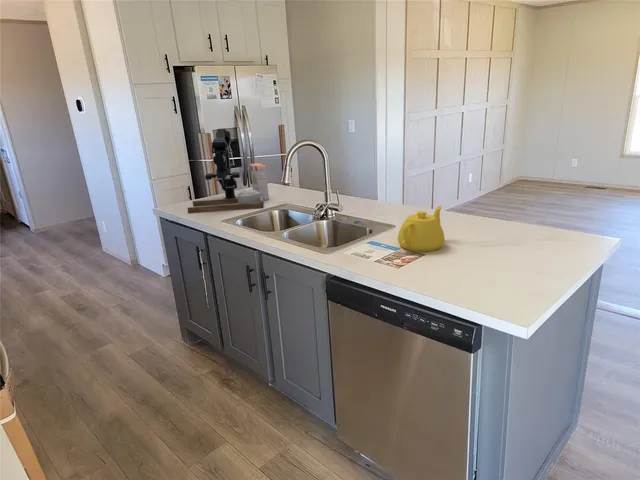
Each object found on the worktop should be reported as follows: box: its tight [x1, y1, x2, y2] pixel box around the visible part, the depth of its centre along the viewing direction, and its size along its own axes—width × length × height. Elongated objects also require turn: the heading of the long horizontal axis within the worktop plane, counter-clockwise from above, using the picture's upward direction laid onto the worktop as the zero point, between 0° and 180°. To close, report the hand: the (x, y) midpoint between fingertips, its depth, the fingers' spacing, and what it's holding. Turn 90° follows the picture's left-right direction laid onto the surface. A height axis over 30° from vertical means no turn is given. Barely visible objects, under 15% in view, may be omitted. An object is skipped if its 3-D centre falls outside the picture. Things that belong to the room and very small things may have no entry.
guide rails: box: [187, 195, 265, 214], centre depth 245 cm, size 17×41×4 cm, turn 96°
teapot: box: [397, 205, 445, 253], centre depth 167 cm, size 25×18×14 cm
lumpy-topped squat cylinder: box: [237, 189, 260, 204], centre depth 245 cm, size 10×13×9 cm
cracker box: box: [249, 162, 270, 202], centre depth 259 cm, size 14×6×21 cm, turn 25°
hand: (224, 190), depth 242 cm, fingers closed
